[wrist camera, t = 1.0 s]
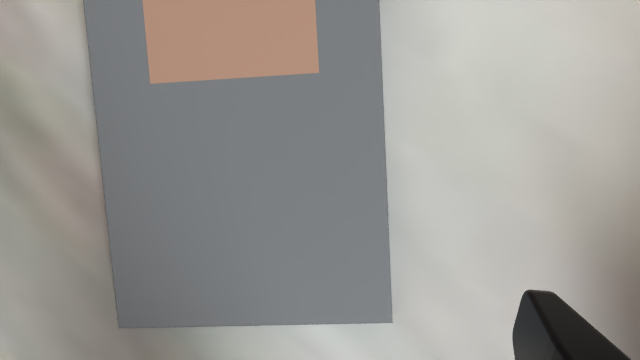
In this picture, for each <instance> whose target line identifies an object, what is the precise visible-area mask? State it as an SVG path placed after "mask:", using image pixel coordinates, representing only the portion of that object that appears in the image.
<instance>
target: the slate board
mask: <svg viewBox="0 0 640 360" xmlns="http://www.w3.org/2000/svg"><path fill="white" fill-rule="evenodd" d="M83 2H84V11H85V20H86V29H87V39H88V48H89V57H90V66H91V76H92V85H93V94H94V104H95V113H96V122H97V131H98V141H99V150H100V159H101V168H102V178H103V187H104V196H105V205H106V215H107V224H108V233H109V243H110V252H111V261H112V270H113V280H114V289H115V298H116V307H117V317H118V326H119V328H156V327H207V326H258V325H309V324H359V323H393V322H392V298H391V274H390V250H389V226H388V202H387V178H386V154H385V130H384V106H383V82H382V58H381V34H380V10H379V0H83Z"/></svg>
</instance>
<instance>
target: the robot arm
mask: <svg viewBox="0 0 640 360" xmlns="http://www.w3.org/2000/svg"><path fill="white" fill-rule="evenodd" d="M513 348H514V355H515V360H631V359H630V358H629V357H628V356H626V355H625V354H624V353H623V352H622V351H621V350H620V349H618V348H617V347H616V346H615V345H614V344H613V343H611V342H610V341H609V340H608V339H607V338H606V337H605V336H603V335H602V334H601V333H600V332H599V331H598V330H596V329H595V328H594V327H593V326H592V325H591V324H590V323H588V322H587V321H586V320H585V319H584V318H583V317H582V316H580V315H579V314H578V313H577V312H576V311H575V310H573V309H572V308H571V307H570V306H569V305H568V304H567V303H565V302H564V301H563V300H562V299H561V298H560V297H559V296H557V295H556V294H555V293H553V292H550V291H541V290H527V291H525V292H524V294H523V296H522V299H521V302H520V306H519V309H518V313H517V317H516V320H515V324H514V328H513Z"/></svg>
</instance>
